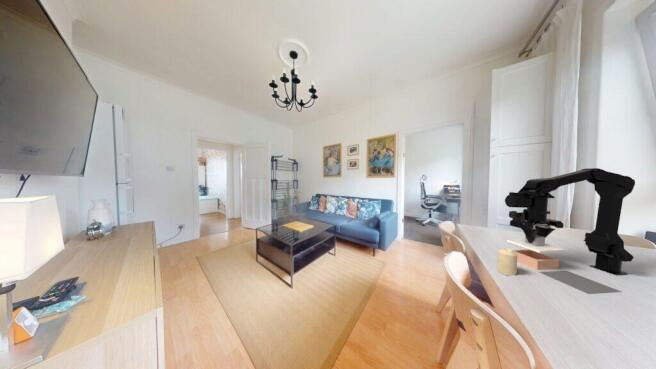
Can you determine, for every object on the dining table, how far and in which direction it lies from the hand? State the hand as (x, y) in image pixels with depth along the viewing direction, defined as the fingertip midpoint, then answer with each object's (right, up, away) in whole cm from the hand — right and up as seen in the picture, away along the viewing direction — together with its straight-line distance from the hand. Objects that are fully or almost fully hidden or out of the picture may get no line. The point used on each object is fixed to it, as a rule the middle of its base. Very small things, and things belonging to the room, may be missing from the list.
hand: (534, 242), depth 77 cm
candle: (-19, -11, -6) cm, 22 cm away
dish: (0, -10, +1) cm, 10 cm away
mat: (+1, -11, -12) cm, 16 cm away
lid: (0, -2, 0) cm, 2 cm away
